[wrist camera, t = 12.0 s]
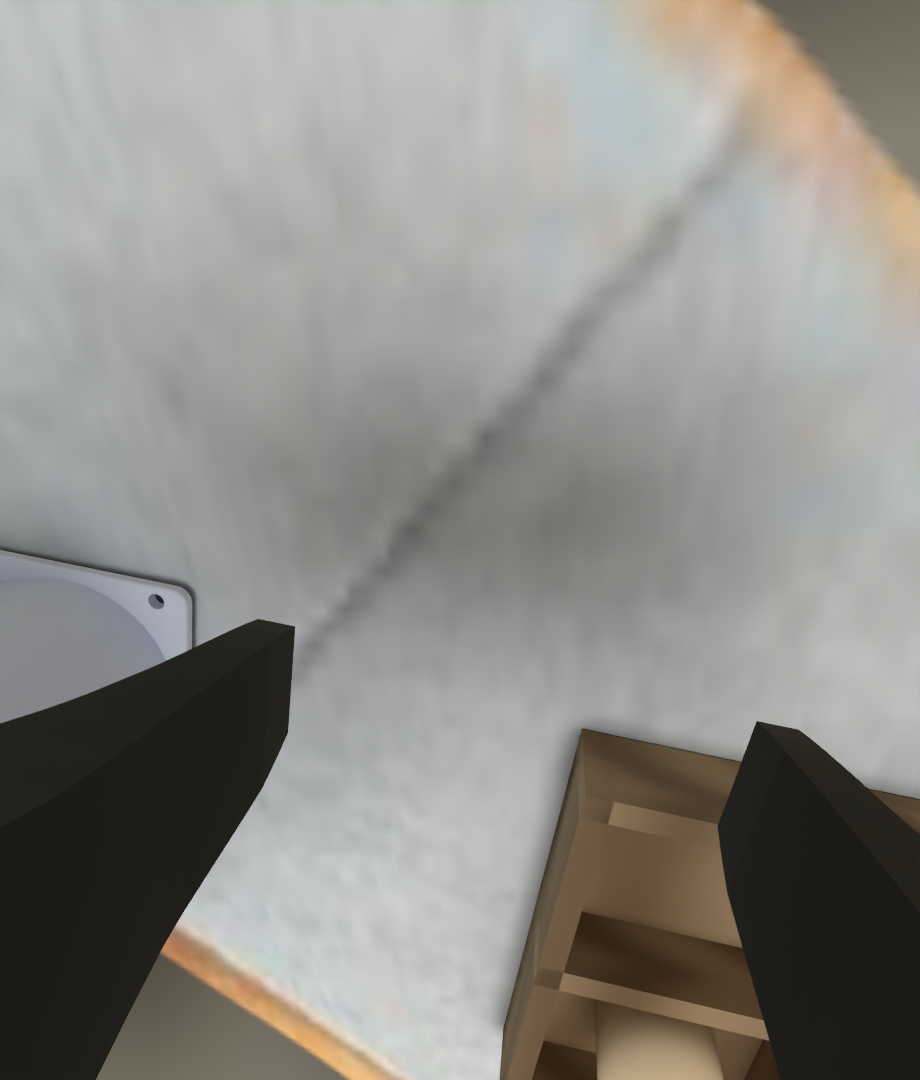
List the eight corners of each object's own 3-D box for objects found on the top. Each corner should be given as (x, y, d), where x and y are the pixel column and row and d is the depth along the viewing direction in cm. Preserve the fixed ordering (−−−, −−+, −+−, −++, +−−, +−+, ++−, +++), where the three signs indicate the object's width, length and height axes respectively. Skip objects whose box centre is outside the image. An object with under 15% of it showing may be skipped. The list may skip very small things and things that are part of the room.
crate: (503, 1029, 27) (496, 1115, 24) (581, 729, 21) (585, 795, 19) (989, 1148, 25) (1042, 1254, 22) (1201, 859, 20) (1306, 952, 17)
